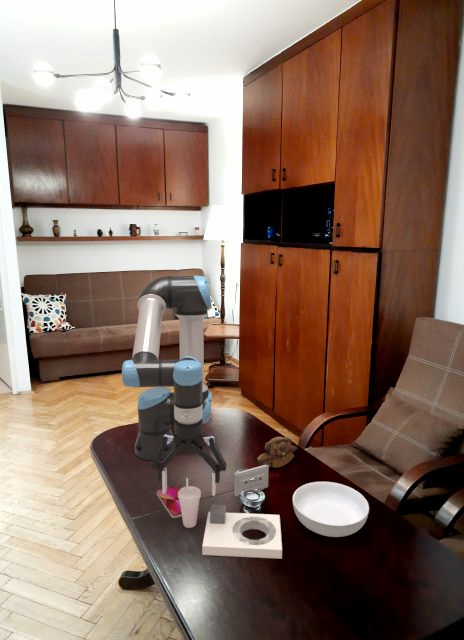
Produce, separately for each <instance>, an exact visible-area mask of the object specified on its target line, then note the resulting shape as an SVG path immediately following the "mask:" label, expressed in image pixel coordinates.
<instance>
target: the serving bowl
mask: <svg viewBox="0 0 464 640" xmlns="http://www.w3.org/2000/svg"><path fill="white" fill-rule="evenodd" d="M292 506H293V510H294V514H295V515H296V517H297V519H298V521H299V522H300V523H301V524H302V525H303V526H305V528H307V529H308V530H310V531H312V532H314V533H315V534H318V535H321V536H324V537H325V536H326V537H331V538H340V537H347V536H350V535H353V534H355V533H357V532H358V531H359V530H360V529H362V528H363V526H364V525H365V523H366V522H367V519H368V517H369V516H368V515H369V513H370V506H369V502H368V500H367V499H366V498H365V496H364V495H363V494H362V493H360V492H359V491H358V490H355V488H352V487H350V486H348V485H345V484H342V483H338V482H333V481H331V482H330V481H314V482H313V481H312V482H309V483H305V484H303V485H301V486H299V487H298V488H297V489H296V490H295V491H294V493H293V494H292Z"/></svg>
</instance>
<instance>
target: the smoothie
mask: <svg viewBox="0 0 464 640" xmlns="http://www.w3.org/2000/svg"><path fill="white" fill-rule="evenodd" d="M185 485H186V486H184V487H181V488H180V490H179V491H178V498H179V500H180V507H181V513H182V516H181V519H182V525H183V526H184V527H185V528H187V529H192V528H194V527H195V526H197V522H198V521H197V520H198V514H199V512H198V511H199V505H200V498H202V492H201V489H200V488H199V487H196V486H193V485H189V478H188V477H186V478H185Z"/></svg>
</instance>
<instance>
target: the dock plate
mask: <svg viewBox="0 0 464 640" xmlns="http://www.w3.org/2000/svg"><path fill="white" fill-rule="evenodd" d="M226 507H227V505H225V504H211V505H210V511H208V513H207V518H206V523H205V529H204V534H203V541H202V547H201V548H202V551H201V552H202V553H201V555H202V556H218V557H219V556H220V557H237V558H238V557H239V558H240V557H241V558H260V559H281V560H282V559H283V543H282V530H281V517H280V514H269V513H267V514H266V513H265V514H264V513H247V512H246V513H243V512H227V508H226ZM250 530H259V531H260V532H263V533H264V534H265V536H264V537H262V538H259V539H249V538H247V537H245V536H244V535H243V533H244V532H246V531H250Z"/></svg>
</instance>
